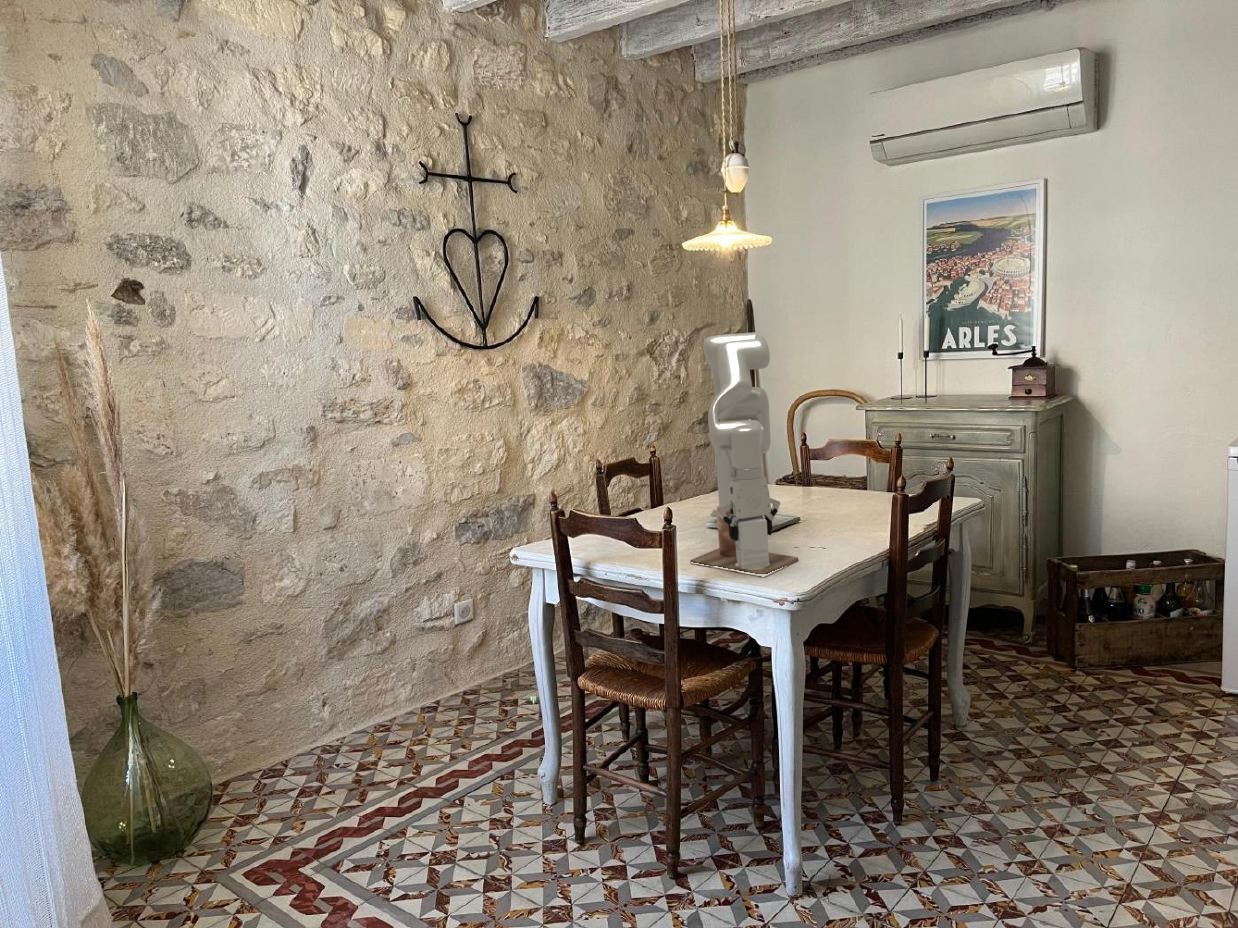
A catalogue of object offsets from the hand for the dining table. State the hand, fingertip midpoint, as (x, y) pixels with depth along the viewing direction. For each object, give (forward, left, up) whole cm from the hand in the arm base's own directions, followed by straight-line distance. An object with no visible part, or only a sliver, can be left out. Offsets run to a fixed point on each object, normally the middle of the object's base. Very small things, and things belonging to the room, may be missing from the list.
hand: (751, 536), depth 246 cm
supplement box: (0, 0, -8) cm, 8 cm away
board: (-5, +3, -9) cm, 10 cm away
